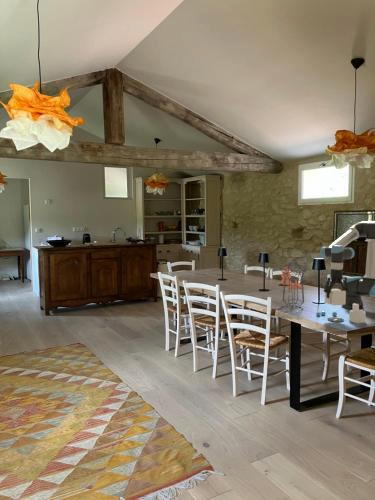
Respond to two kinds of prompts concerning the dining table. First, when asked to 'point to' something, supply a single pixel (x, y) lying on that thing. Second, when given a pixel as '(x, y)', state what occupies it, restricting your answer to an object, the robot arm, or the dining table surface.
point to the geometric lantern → (293, 280)
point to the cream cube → (337, 297)
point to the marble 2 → (334, 313)
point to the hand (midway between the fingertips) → (335, 302)
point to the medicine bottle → (357, 314)
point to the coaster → (335, 319)
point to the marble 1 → (318, 313)
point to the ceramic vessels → (290, 281)
